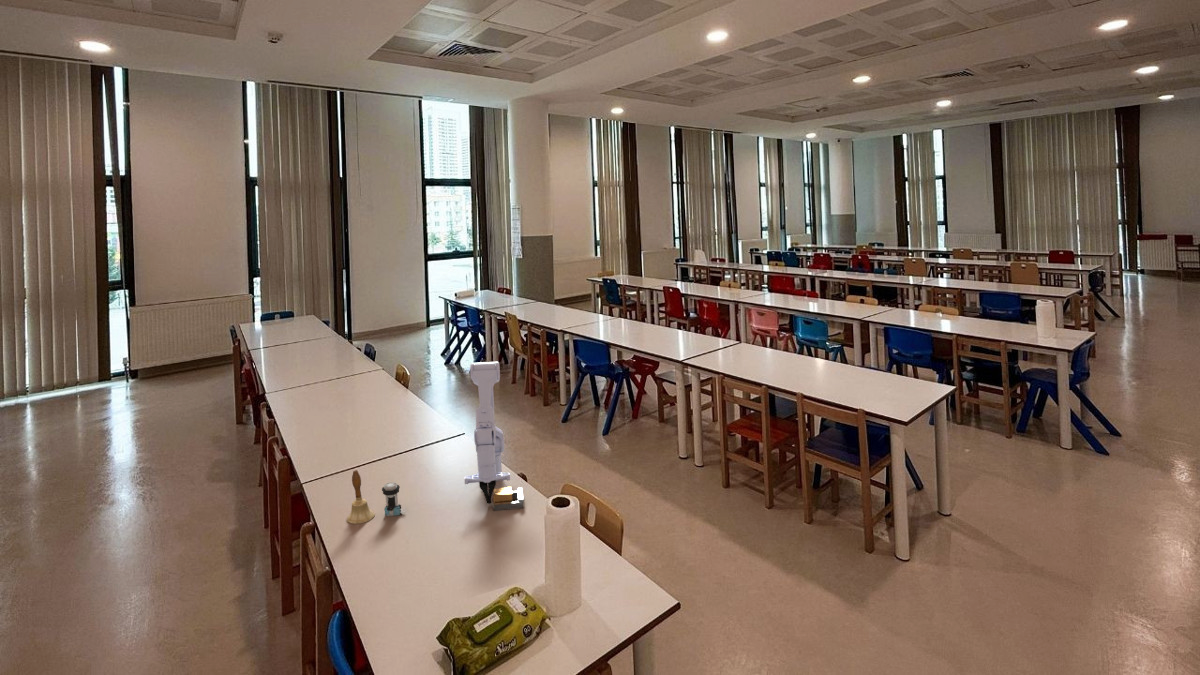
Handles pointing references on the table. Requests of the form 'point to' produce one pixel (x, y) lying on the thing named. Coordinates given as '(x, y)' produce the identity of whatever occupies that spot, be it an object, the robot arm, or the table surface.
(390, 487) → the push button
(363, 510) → the hand bell
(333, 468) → the table surface
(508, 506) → the guide channel
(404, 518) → the table surface
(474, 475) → the robot arm
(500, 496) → the block
